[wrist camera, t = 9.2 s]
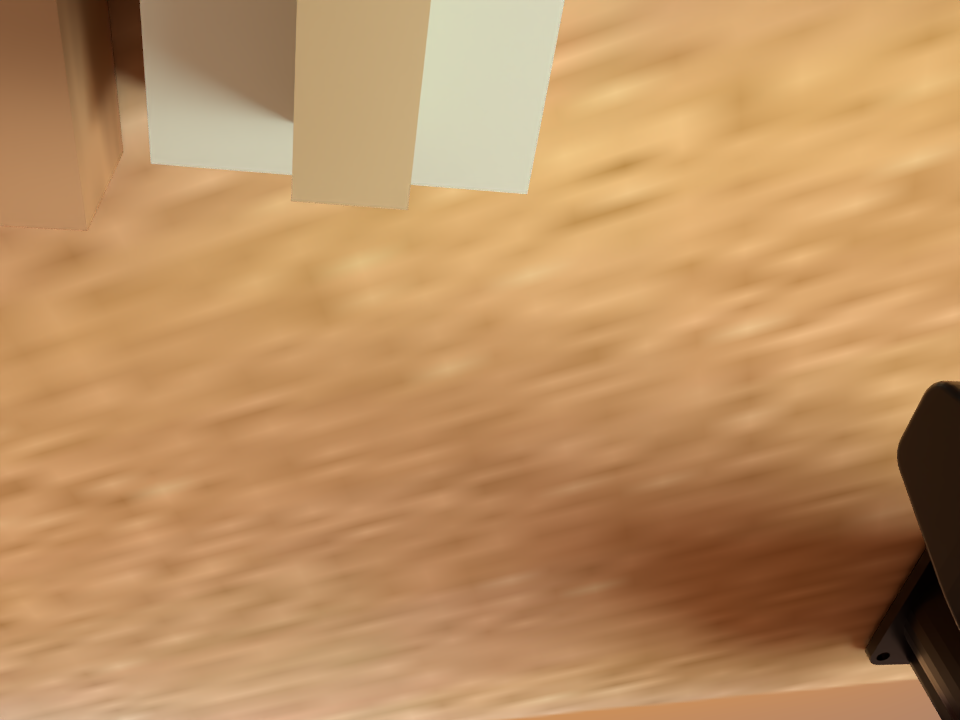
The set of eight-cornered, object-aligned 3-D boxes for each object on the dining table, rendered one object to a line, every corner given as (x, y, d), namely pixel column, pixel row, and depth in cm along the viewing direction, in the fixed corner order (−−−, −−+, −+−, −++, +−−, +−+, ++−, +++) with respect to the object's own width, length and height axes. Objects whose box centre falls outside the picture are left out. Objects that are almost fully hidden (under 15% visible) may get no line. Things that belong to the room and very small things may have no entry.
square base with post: (502, 123, 21) (555, 274, 16) (178, 93, 19) (118, 246, 14) (553, -182, 17) (643, -117, 12) (162, -244, 16) (75, -200, 11)
